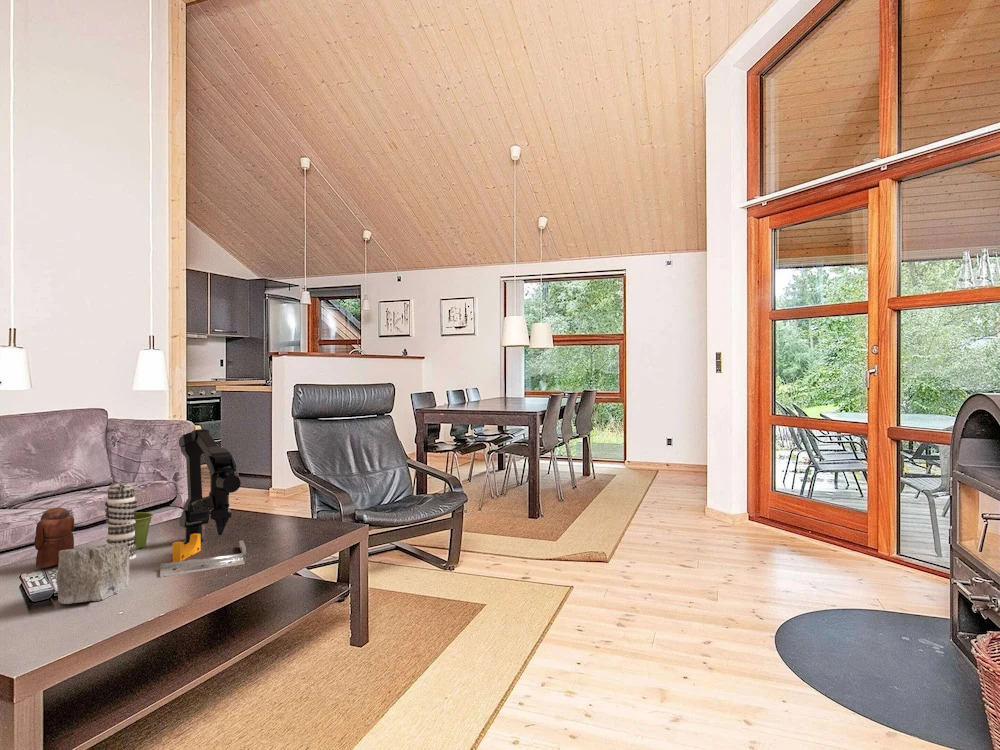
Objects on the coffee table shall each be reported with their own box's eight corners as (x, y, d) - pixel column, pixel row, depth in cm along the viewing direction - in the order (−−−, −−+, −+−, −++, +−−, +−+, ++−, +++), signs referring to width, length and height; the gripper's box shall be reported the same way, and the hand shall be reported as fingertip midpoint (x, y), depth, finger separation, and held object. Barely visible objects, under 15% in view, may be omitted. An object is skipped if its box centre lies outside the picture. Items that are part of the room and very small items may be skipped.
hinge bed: (161, 558, 205) (161, 550, 205) (243, 548, 217) (243, 540, 217) (159, 577, 187) (159, 567, 187) (248, 564, 199) (248, 555, 199)
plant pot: (118, 554, 210) (118, 521, 210) (111, 547, 219) (111, 515, 219) (156, 547, 218) (156, 516, 218) (149, 541, 227) (149, 510, 227)
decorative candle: (118, 563, 200) (118, 487, 200) (98, 561, 203) (98, 485, 203) (143, 556, 208) (143, 482, 208) (123, 553, 212) (123, 480, 211)
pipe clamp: (188, 551, 214) (188, 533, 214) (200, 552, 214) (200, 533, 214) (167, 562, 202) (167, 543, 202) (180, 562, 202) (180, 543, 202)
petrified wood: (120, 577, 186) (119, 528, 186) (143, 590, 175) (142, 538, 175) (45, 595, 172) (45, 542, 172) (65, 610, 161) (65, 553, 161)
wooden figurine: (58, 557, 207) (58, 504, 207) (76, 557, 206) (76, 504, 206) (29, 568, 195) (29, 512, 195) (48, 569, 195) (48, 512, 195)
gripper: (192, 486, 214) (192, 530, 214) (193, 495, 197) (193, 544, 197) (227, 483, 219) (227, 527, 219) (231, 492, 202) (231, 539, 202)
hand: (219, 534), depth 209 cm, fingers closed
